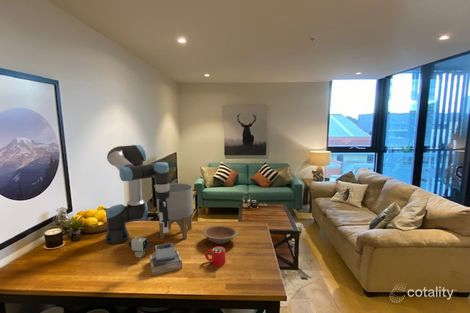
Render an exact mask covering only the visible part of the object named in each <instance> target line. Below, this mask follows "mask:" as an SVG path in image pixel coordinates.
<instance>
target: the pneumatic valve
mask: <svg viewBox="0 0 470 313" xmlns="http://www.w3.org/2000/svg"><path fill="white" fill-rule="evenodd" d="M150 246H151V242H150V240H149V238H147V237H141V236H139V237H138V236H134V237H133V238H132V239H130V240H129V242H128V247H129V248H130V250H131V251H134V252H135V253H134V255H135V258H143V257H144V256H145V254H146V251H147V250H149V248H150Z"/></svg>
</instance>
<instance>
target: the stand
mask: <svg viewBox="0 0 470 313" xmlns="http://www.w3.org/2000/svg"><path fill="white" fill-rule="evenodd" d="M149 265H150V270H151V275H152V276H156V275H160V274H164V273H169V272H173V271H177V270H182V269H183V260H182V257H181V254H180V253H179V249H178V248H175V259H172V260H167V261H162V262H156V257H155V254H151V253H150V254H149Z"/></svg>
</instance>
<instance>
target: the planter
mask: <svg viewBox="0 0 470 313" xmlns="http://www.w3.org/2000/svg"><path fill="white" fill-rule="evenodd" d="M169 187H170V189H169V191H170V197H169V198H167V199H166V201H167V209H168V219H169V221H168V230H170V229H171V230H172V224H174V223H176V224H177V225H178V227H179V229H180V231H181V237H182V239H183V240H186V239H188V230H189V231H190V230H192V227H193V226H192V224H193V223H192V215H193V214H194V194H193V193H194V192H193V191H194V189H193V188H194V187H193V185H191V184H189V183H181V182H178V183H176V182H175V183H174V182H173V183H169ZM156 205H157V217H158V222H159V238H160V239H161V240H162V239H165V236H166V233H163V223H161V224H160V214H159V199H156Z"/></svg>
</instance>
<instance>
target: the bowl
mask: <svg viewBox="0 0 470 313" xmlns="http://www.w3.org/2000/svg"><path fill="white" fill-rule="evenodd" d="M202 234H203V236H204V237H206V238H207V239H208V240H209V241H210V242H212V243H214V244H216V245H222V244H227V243H228V242H230V241H232V240H233V239H234V238H235V237H236V236H238V234H239V231H238V230H237V229H236V228H234V227H232V226H227V225H223V224H222V225H211V226H208V227H205V228H204V229H203V230H202Z"/></svg>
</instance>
